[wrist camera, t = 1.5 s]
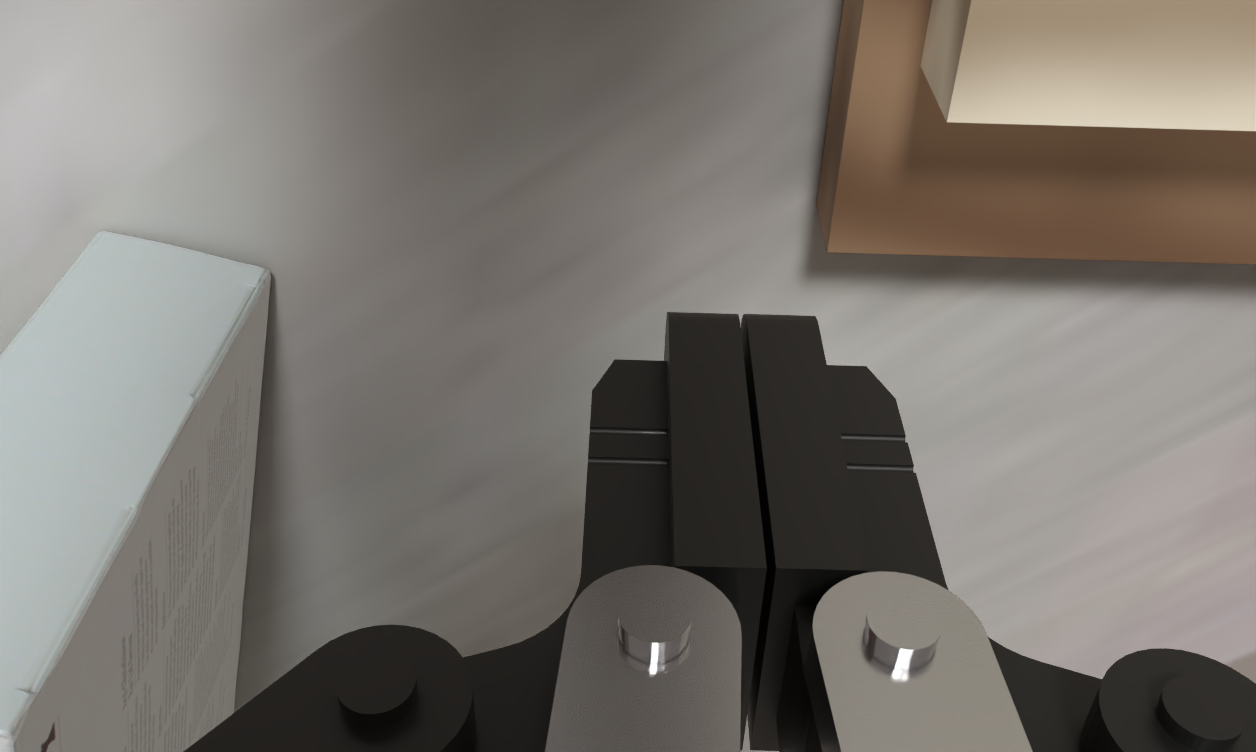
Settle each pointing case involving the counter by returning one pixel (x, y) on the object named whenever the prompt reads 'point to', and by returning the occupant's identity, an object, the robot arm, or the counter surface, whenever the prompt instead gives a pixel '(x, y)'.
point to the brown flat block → (1013, 170)
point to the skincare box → (128, 498)
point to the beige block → (1094, 62)
